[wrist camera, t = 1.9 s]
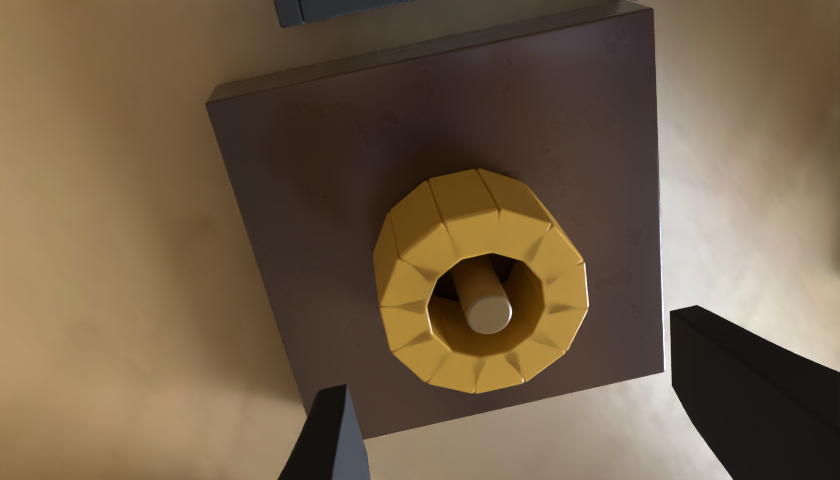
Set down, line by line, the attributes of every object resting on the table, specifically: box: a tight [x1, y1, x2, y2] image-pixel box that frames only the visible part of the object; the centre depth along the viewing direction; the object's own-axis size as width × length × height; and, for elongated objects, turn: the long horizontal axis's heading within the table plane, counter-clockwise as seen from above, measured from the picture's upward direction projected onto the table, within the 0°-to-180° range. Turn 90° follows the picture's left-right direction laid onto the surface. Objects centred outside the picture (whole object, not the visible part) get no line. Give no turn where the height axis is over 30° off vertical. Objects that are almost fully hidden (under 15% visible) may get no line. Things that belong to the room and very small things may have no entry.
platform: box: [205, 0, 665, 440], centre depth 20 cm, size 12×12×5 cm
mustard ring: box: [373, 168, 589, 394], centre depth 19 cm, size 5×5×3 cm
